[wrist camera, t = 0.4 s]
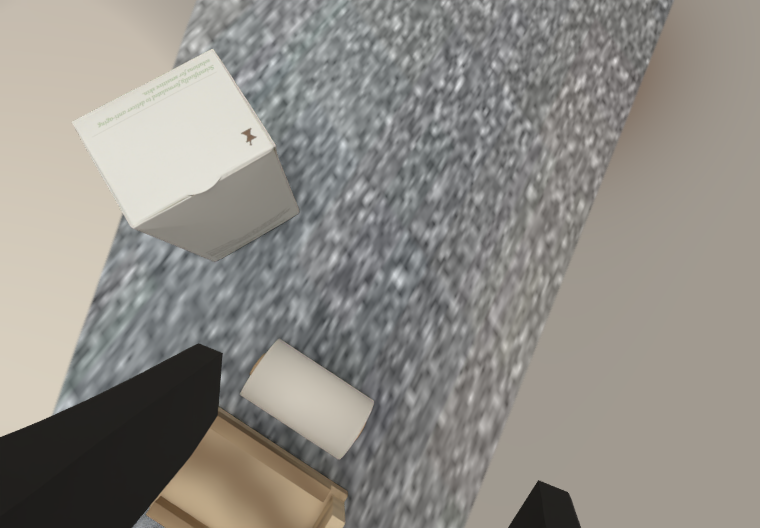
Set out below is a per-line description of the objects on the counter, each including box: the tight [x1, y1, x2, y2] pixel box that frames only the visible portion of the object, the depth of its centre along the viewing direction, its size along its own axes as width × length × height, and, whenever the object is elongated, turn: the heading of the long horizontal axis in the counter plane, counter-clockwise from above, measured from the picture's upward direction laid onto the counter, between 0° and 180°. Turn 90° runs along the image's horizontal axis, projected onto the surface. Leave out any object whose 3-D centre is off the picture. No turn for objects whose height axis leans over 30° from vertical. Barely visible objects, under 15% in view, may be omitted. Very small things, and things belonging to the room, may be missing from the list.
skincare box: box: [72, 49, 299, 262], centre depth 31 cm, size 8×7×16 cm
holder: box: [146, 407, 348, 528], centre depth 34 cm, size 8×13×5 cm, turn 57°
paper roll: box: [240, 339, 374, 460], centre depth 35 cm, size 9×5×5 cm, turn 57°
